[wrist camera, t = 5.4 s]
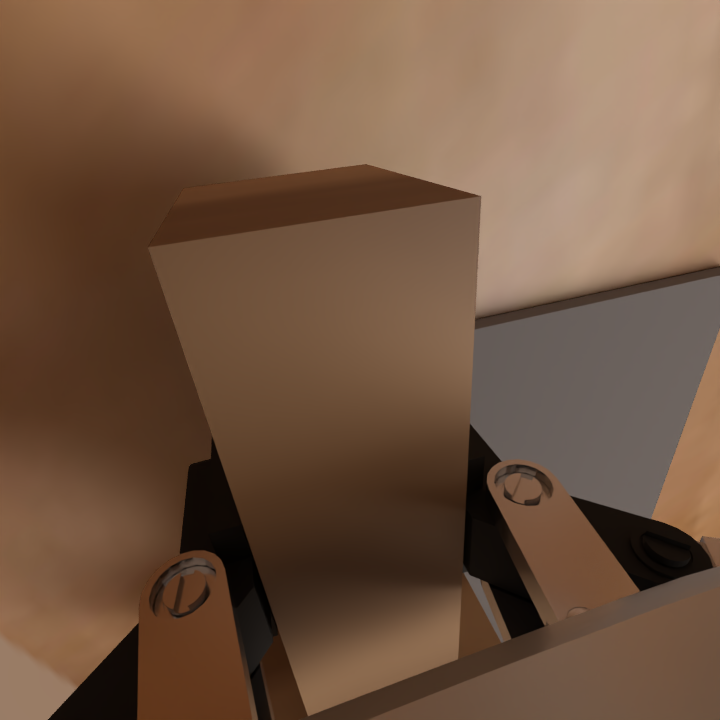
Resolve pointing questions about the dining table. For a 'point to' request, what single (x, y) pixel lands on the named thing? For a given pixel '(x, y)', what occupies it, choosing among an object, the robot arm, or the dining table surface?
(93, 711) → the robot arm
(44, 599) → the dining table surface
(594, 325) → the panel
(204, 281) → the wooden t-shaped block
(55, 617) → the dining table surface
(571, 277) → the dining table surface
